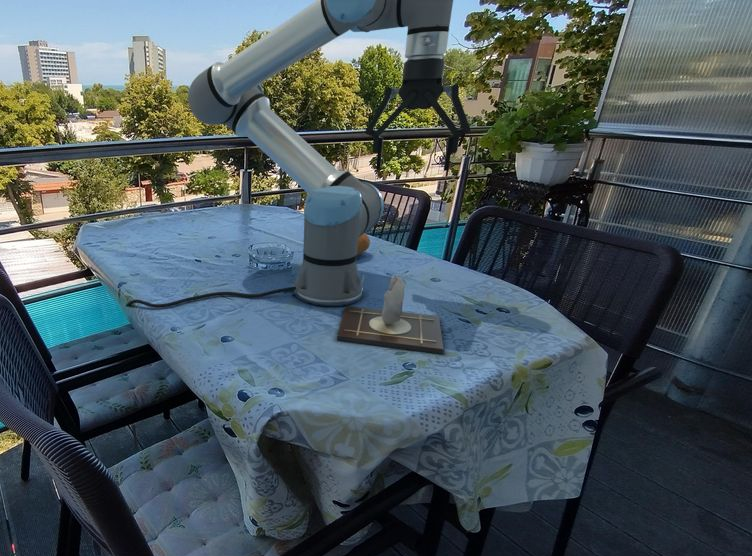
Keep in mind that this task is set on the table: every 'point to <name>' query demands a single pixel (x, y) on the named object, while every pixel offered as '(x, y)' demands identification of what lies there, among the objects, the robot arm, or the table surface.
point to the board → (391, 330)
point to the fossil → (393, 301)
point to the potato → (363, 244)
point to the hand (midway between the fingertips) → (411, 169)
